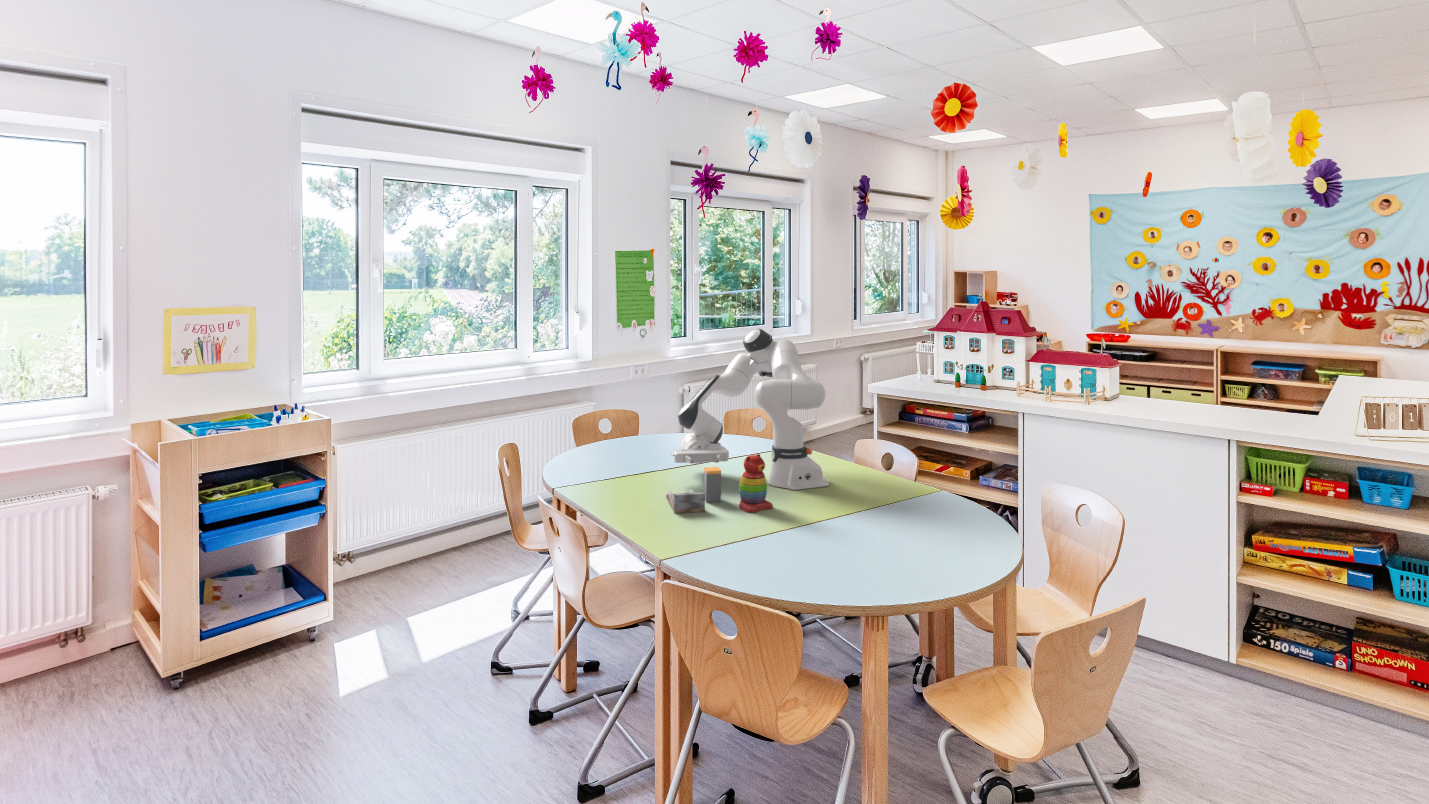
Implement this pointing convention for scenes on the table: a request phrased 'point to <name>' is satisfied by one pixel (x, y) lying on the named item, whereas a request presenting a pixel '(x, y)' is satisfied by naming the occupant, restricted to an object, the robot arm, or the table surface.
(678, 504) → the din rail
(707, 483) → the grey tall block
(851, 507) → the table surface
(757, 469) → the stacking bear
